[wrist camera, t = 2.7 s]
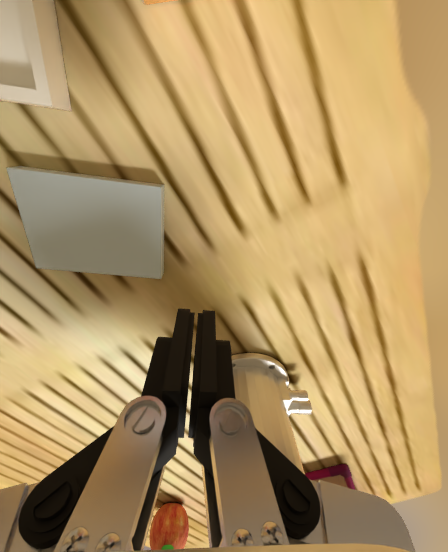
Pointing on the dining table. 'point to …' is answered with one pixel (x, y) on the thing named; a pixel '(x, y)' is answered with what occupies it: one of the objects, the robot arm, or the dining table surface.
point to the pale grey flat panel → (91, 222)
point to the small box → (154, 1)
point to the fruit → (169, 528)
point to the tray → (32, 55)
